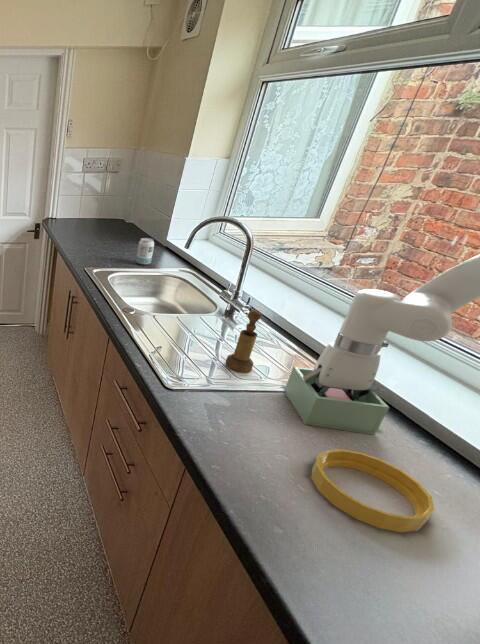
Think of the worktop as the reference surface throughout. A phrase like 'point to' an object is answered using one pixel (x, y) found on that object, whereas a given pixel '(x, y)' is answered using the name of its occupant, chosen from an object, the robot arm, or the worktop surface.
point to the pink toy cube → (336, 394)
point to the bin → (334, 406)
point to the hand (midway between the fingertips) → (328, 407)
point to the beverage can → (145, 251)
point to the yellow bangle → (382, 471)
